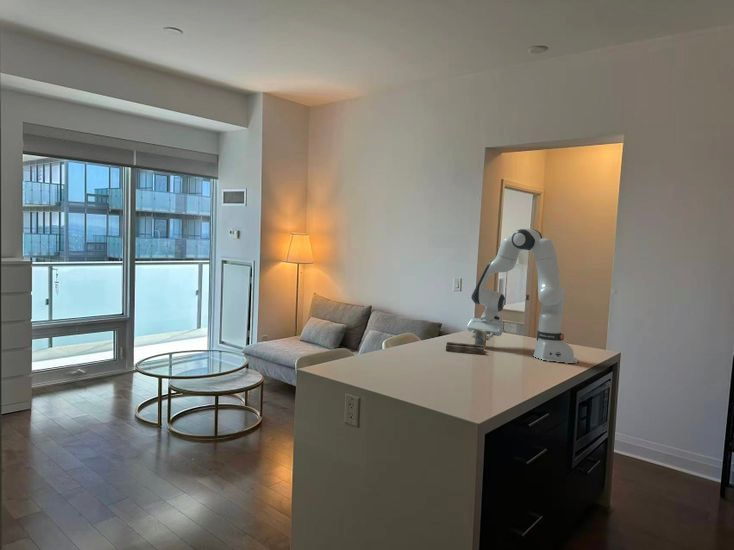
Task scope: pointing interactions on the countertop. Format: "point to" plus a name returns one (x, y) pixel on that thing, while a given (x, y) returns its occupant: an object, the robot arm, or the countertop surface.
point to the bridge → (465, 348)
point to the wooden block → (480, 337)
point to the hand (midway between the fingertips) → (480, 338)
